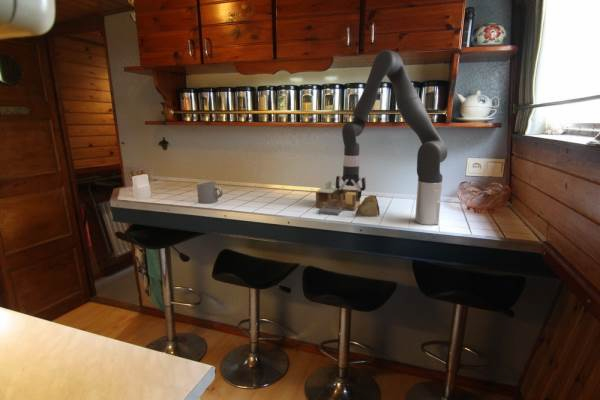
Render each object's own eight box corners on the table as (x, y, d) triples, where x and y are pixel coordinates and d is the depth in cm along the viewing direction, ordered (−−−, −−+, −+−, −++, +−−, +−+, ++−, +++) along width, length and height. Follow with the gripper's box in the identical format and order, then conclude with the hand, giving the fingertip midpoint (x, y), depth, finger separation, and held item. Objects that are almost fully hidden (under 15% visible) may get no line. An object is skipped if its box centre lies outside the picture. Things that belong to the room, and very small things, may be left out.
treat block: (355, 202, 168) (355, 192, 167) (353, 204, 164) (353, 194, 163) (347, 201, 169) (347, 192, 168) (345, 203, 166) (345, 193, 164)
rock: (351, 212, 150) (373, 212, 145) (353, 195, 153) (375, 194, 148) (359, 221, 158) (380, 221, 153) (361, 204, 161) (382, 204, 156)
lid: (338, 187, 174) (338, 180, 173) (331, 193, 162) (331, 185, 162) (325, 187, 176) (325, 179, 175) (317, 192, 165) (317, 184, 164)
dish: (342, 210, 162) (342, 207, 161) (337, 215, 153) (337, 212, 153) (324, 208, 165) (324, 205, 165) (318, 213, 157) (318, 210, 156)
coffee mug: (194, 202, 179) (192, 183, 177) (207, 198, 188) (205, 180, 185) (214, 205, 173) (212, 185, 171) (226, 200, 182) (225, 182, 180)
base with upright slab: (142, 194, 199) (139, 173, 197) (154, 195, 196) (152, 174, 193) (130, 197, 191) (127, 176, 188) (142, 198, 188) (140, 177, 185)
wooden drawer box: (360, 204, 171) (360, 190, 170) (354, 211, 160) (355, 195, 158) (323, 201, 178) (323, 187, 177) (315, 207, 167) (315, 192, 165)
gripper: (367, 164, 163) (366, 197, 167) (338, 162, 168) (337, 194, 172) (364, 166, 156) (363, 201, 160) (334, 164, 161) (333, 198, 166)
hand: (350, 197), depth 166 cm, fingers open, 8 cm apart
